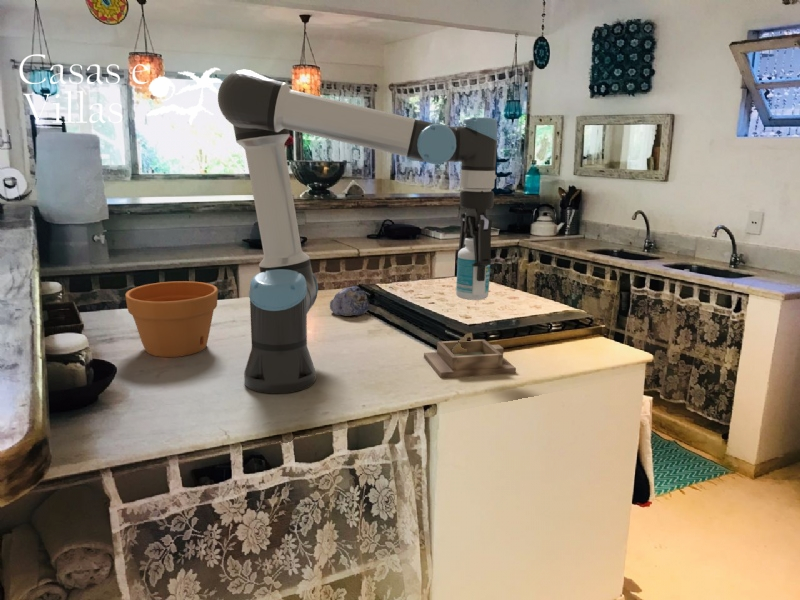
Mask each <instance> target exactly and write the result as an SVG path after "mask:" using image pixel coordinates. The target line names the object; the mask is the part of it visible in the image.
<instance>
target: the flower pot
mask: <svg viewBox="0 0 800 600" xmlns="http://www.w3.org/2000/svg"><path fill="white" fill-rule="evenodd" d="M218 291H219V290H218V287H217V286H215V285H214V284H210V283H207V282H201V281H200V282H199V281H187V280H185V281H184V280H183V281H179V280H178V281H165V282H163V281H162V282H156V283H147V284H143V285H140V286H139V285H138V286H136V287H134V288H132V289H129V290H127V291H126V293H125V302H126V308H127V311H128V313H129V314H130V315H132V317H133V319H134V320H133V321H134V322H135V326H136V329H137V332H138V335H139V338H140V340H141V342H142V343H141V344H142V346H143V348H144V350H145V352H146V353H147V354H148V355H152V356H155V357H160V358H178V357H186V356H191V355H194V354H197V353H199V352H201V351H203V350H204V349H206V348H207V345H208V341H209V338H210V337H209V336H210V331H211V325H212V320H213V316H214V310H215V309H216V308H217V306H218Z"/></svg>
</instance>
